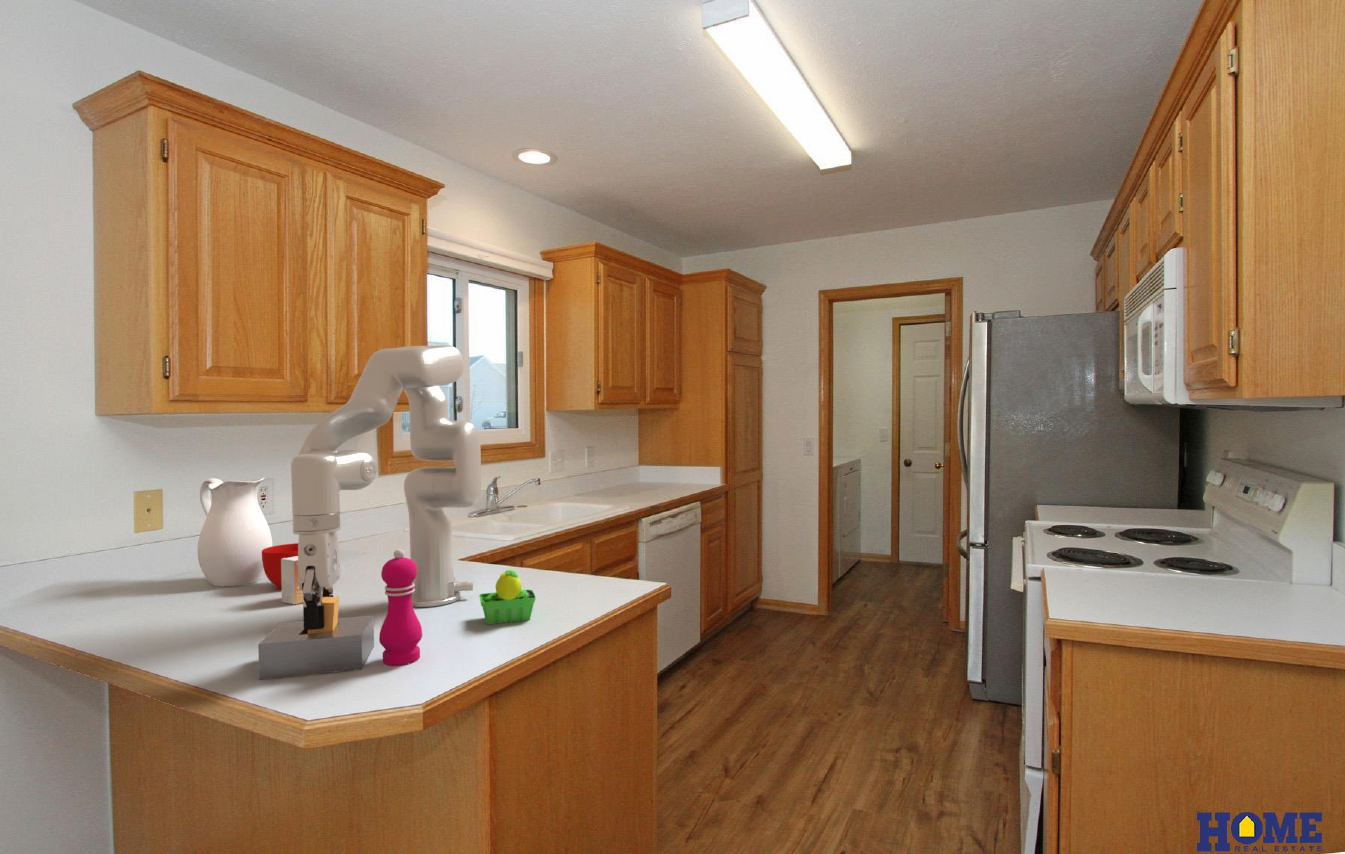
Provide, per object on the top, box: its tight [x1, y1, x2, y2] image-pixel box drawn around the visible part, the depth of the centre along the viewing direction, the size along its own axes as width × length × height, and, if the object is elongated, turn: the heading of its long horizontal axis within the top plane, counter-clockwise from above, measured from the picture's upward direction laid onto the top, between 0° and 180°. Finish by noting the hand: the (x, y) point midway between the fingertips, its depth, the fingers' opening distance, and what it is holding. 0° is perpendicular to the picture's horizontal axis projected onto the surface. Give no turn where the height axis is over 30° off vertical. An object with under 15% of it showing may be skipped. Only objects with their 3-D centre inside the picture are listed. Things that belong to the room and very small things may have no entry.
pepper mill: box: [378, 548, 423, 667], centre depth 123 cm, size 7×7×20 cm
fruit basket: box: [478, 569, 537, 625], centre depth 146 cm, size 11×9×11 cm
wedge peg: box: [307, 596, 340, 634], centre depth 123 cm, size 4×4×11 cm
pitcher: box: [197, 477, 273, 587], centre depth 185 cm, size 24×17×28 cm
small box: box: [281, 556, 315, 606], centre depth 164 cm, size 8×6×10 cm
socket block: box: [257, 615, 375, 681], centre depth 123 cm, size 16×12×6 cm
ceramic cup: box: [262, 542, 298, 590], centre depth 179 cm, size 13×17×10 cm
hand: (319, 622), depth 122 cm, fingers open, 6 cm apart
